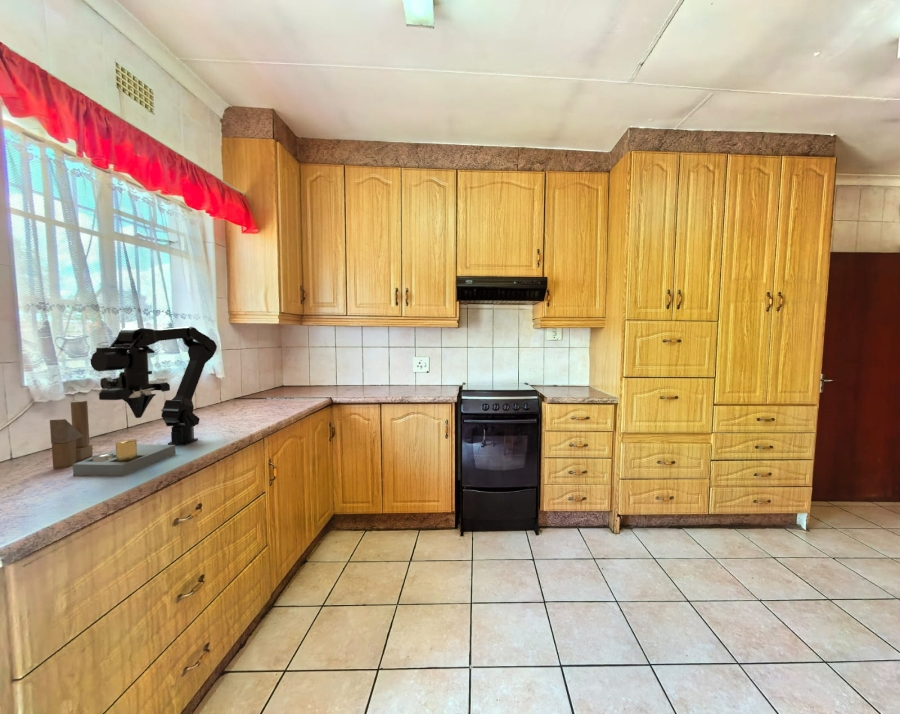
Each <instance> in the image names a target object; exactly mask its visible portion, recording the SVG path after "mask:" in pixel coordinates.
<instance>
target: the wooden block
mask: <svg viewBox="0 0 900 714" xmlns="http://www.w3.org/2000/svg"><path fill="white" fill-rule="evenodd" d="M88 407H89V406H88V400H86V399H79V400H72V401H71V402H70V414H71V415H70V416H71V418H70V419H71V423H70V422H69V421H68V420H67V419H65V418H62V419H50V420H49V428H50V432H49V433H50V444H51V452H52V453H51V454H52V455H51V457H52V458H51V459H52V467H53V469H58V468H59V469H60V468H69V467H71V466H73V464H75V463H78V462H81V461H84V460H86V459H88V458H89V457H91V456H94V455H93V454H94V452H93V444H91V443H90V428H89V427H90V426H89V425H90V424H89V411H88V410H89V409H88Z"/></svg>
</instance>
